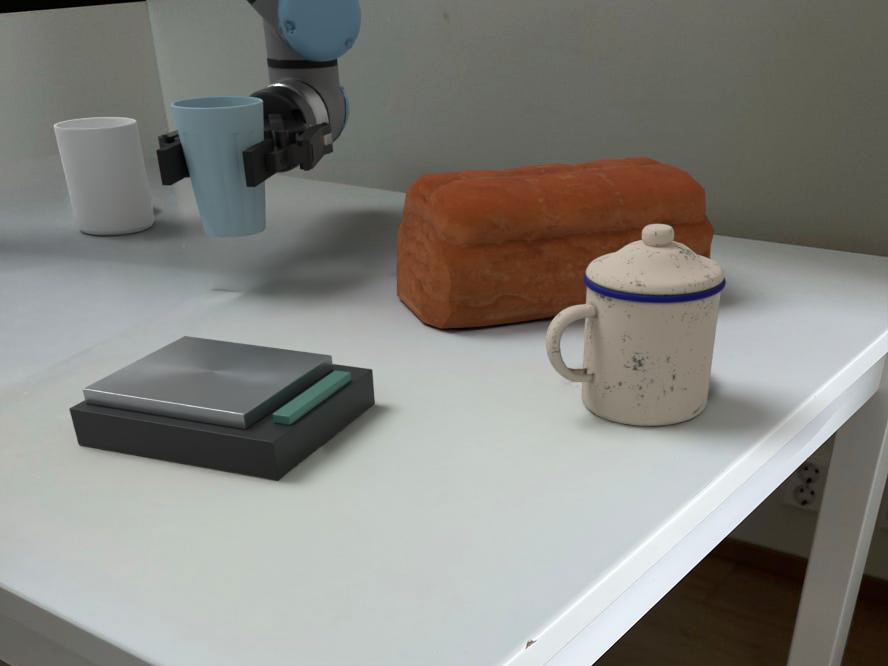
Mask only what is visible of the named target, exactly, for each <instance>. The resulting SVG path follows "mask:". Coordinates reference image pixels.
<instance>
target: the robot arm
mask: <svg viewBox="0 0 888 666" xmlns="http://www.w3.org/2000/svg"><path fill="white" fill-rule="evenodd" d="M246 1H247V2H248V4H249V5H250V7H251V8H252V9H254V10H255V12H256V13H258V15H259V16H260V17H261V18H262V25H263V33H264V41H265V42H264V43H265V49H266V56H267V57H266V62H267V71H268V81H269V85H267V86H265V87H263V88H262V89H259V90H256V91H255V92H253V93H251V94H250V95H248V97H255V98H259V99H262V100H263V123H264V127H263V128H264V140H263V141H261V142H260V143H257V144H255V145H253V146H251V147H249V148H248V149H246V150H244V151H242V155H243V163H244V171H245V178H246V186H247V187H256V186H258V185H259V184H261V183H262V182H264V181H265V182H266V181H267V180H268V179H270V178H271V177H273V176H274V175H275V174H282V173H287V172H289V171H292V170H295V169H297V168H299V170H303V171H304V172H308V171H311V170H313V169H314V168H315V167H316V166H317V165H318V163H319V162H320V161H321V160H322V159H323V157H325V156H326V155H330V154H331V153H334V143H335V141H337V140H338V139H339V138H340V137H341V135H342V133H343V131H344V130H345V128H346V126H347V124H348V121H349V117H350V101H349V97H348V94H347V91H346V90H345V88H344V87H343V85H342V83H341V82H340V73H339V63H338V59H340V57H343V56H344V55H345V54H346V53H348V52H349V51H350V49H352V48H353V46H354V45H355V42H356V41H357V39H358V36H359V34H360V30H361V25H362V9H361V4H360V0H246ZM157 140H158V147H159V148H158V149H156V150H155V151H156V158H157V162H158V169H159V174H160V180H161V185H162V186H172V185H175V184H177V183H178V182H180V181H182V180H184V179H190V175H189V171H188V168H187V164H186V160H185V156H184V152H183V149H182V145H181V141H180V137H179V134H178V130H177V129H176V130H173V131H170V132H167V133H164V134H163V133H161V135H158V136H157Z"/></svg>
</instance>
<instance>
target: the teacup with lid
mask: <svg viewBox="0 0 888 666" xmlns="http://www.w3.org/2000/svg"><path fill="white" fill-rule="evenodd" d="M673 239H674V230H673V228H672V227H671V226H669V225H665V224H651V225H647V226H646V227H645V228H644V229H643V231H642V240H640V241H636V242H632V243H630V244H628V245H626V246H624V247H623V248H622V249H620V250H619V251H617V252H614V253H610V254H606V255H603V256H601V257H598V258H596V259H595V260H593V261H592V262H591V263H590V264H589V266H588V267H587V269H586V273H585V274H584V283H585V285H586V286H587V294H586V304H582V305H575V306H571V307H568V308H566V309H564V310H563V311H561V312H560V313H559V314H558V315H557V316H555V317H553V319H552V320H551V322H550V323H549V325H548V327H547V330H546V336H545V350H546V354H547V358H548V360H549V363H550V364H551V366H552V368H553V369H554V370H555V371H556V373H557V374H558V375H560V376H561V377H562V378H563V379H566V380H567V381H570V382H574V383H581V401H582V403H583V405H584V406H585V408H586V409H587V410H588V411H590V412H591V413H593V414H594V415H596V416H597V417H600V418H601V419H605V420H607V421H610V422H614V423H619V424H624V425H631V426H642V427H643V426H644V427H645V426H646V427H656V426H667V425H674V424H679V423H683V422H687V421H689V420H691V419H693V418H695V417H697V416H698V415H700V414H701V413H702V412H703V411H704V409H705V408H706V406H707V403H708V397H709V388H710V382H711V381H710V380H711V374H712V365H713V357H714V349H715V341H716V333H717V327H718V326H717V325H718V317H719V310H720V302H721V301H720V300H721V295H722V294H721V292H722V291H723V290H724V289H725V287H726V283H727V281H726V277H725V271H724V270H723V268H722V266H721V264H719V263H718V262H716V261H715V260H713V259H712V258H710V259H709V258H706V257H704V256H700V255H697V254H696V253H694V252H693V251H692V250H691V249H690V248H688V247H687V246H685V245H683V244H681V243H678V242H675V241H673ZM583 319H584V336H583V354H582V355H583V357H582V358H583V359H582V368H572V367H568V366H567V365H566V363H565V361H564V359H563V356H562V351H561V340H562V336H563V333H564V332H565V330H566V329H567V328H568V327H569V326H570V325H571V324H572V323H574V322H575V321H578V320H583Z"/></svg>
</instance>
